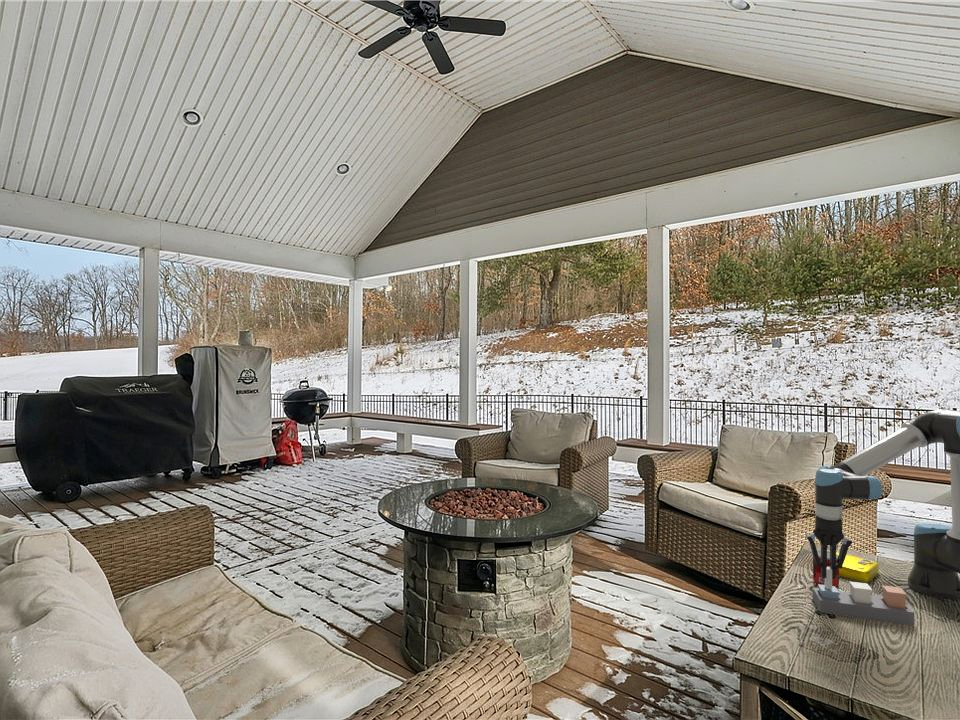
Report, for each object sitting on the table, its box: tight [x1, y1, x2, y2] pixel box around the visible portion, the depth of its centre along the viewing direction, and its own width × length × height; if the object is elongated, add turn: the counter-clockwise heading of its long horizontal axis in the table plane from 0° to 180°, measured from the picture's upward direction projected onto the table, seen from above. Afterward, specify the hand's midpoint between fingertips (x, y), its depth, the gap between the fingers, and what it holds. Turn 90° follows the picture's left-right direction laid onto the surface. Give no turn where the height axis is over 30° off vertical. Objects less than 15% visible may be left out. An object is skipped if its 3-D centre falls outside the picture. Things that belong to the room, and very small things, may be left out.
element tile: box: [836, 551, 879, 583], centre depth 204 cm, size 15×15×5 cm
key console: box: [812, 587, 915, 626], centre depth 172 cm, size 25×10×4 cm, turn 70°
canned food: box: [812, 550, 840, 589], centre depth 193 cm, size 8×8×11 cm
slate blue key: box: [817, 584, 840, 600], centre depth 175 cm, size 5×5×5 cm
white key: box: [848, 580, 874, 604], centre depth 172 cm, size 5×5×5 cm
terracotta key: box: [881, 584, 908, 609], centre depth 169 cm, size 5×5×5 cm
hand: (828, 587), depth 175 cm, fingers closed
